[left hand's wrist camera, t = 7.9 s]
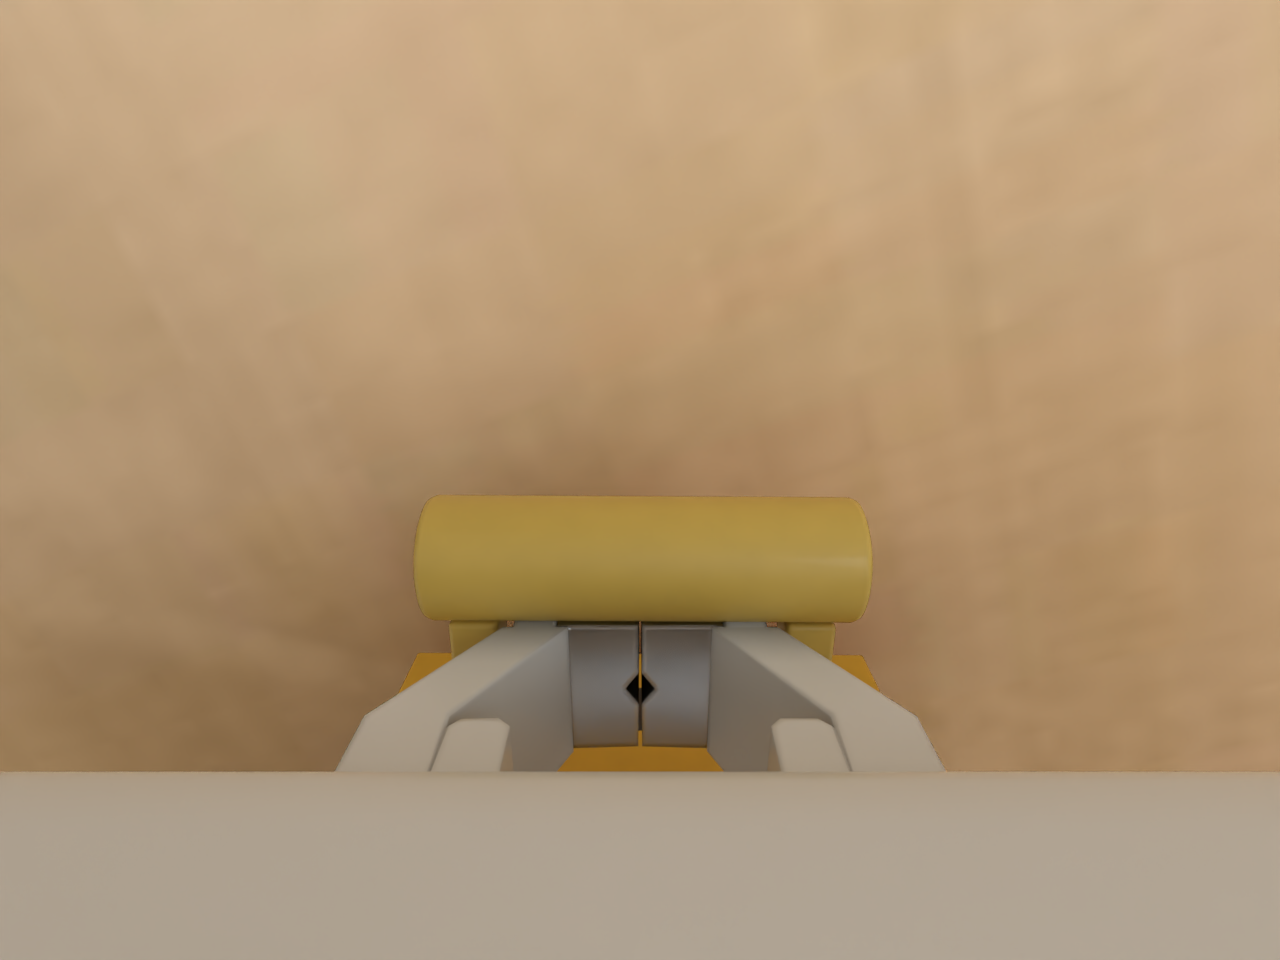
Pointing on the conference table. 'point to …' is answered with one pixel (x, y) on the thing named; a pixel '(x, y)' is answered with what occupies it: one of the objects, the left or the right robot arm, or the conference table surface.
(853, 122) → the conference table surface
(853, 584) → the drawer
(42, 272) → the conference table surface
